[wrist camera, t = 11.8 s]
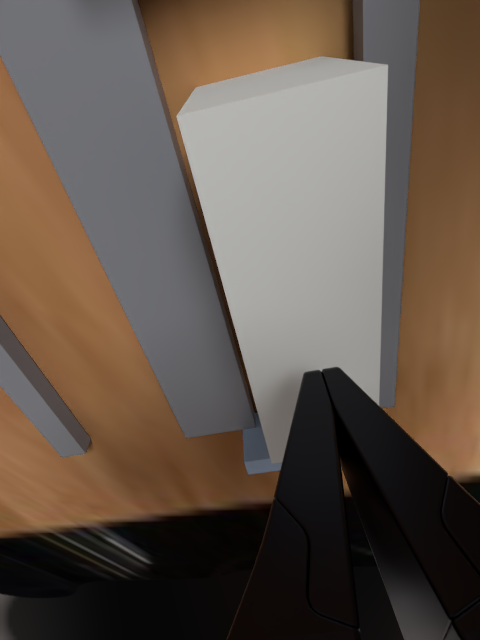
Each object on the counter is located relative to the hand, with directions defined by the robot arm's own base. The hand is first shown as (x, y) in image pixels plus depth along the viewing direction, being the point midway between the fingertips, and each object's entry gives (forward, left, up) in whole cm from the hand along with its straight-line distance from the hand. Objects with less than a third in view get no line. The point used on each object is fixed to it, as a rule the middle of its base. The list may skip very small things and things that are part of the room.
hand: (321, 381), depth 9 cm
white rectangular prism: (0, 0, -8) cm, 8 cm away
